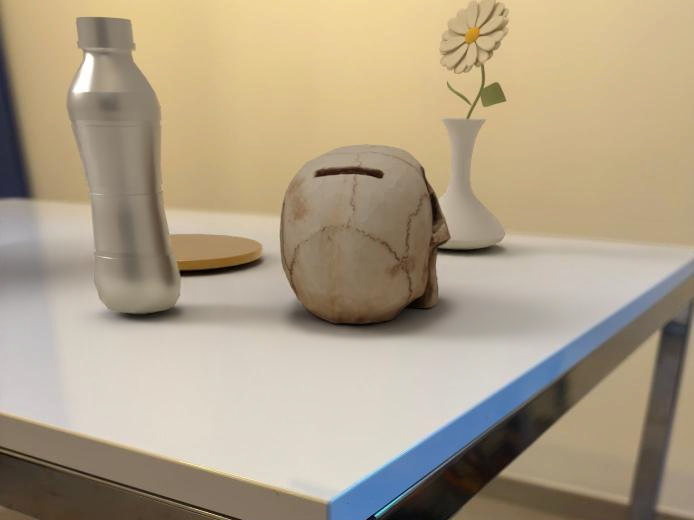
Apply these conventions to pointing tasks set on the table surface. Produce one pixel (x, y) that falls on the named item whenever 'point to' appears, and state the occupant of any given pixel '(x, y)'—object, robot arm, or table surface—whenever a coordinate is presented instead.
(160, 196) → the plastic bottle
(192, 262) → the plate
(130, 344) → the table surface
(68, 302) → the table surface
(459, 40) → the flower in vase
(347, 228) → the coin bank
